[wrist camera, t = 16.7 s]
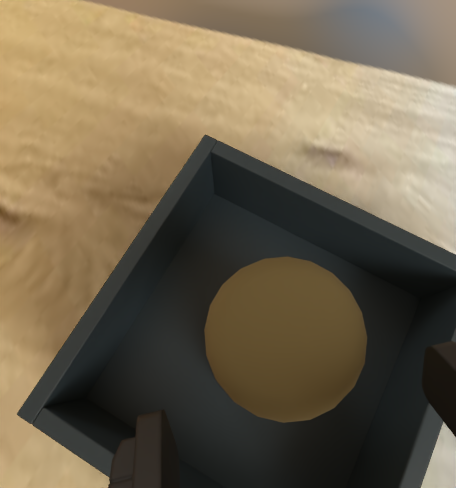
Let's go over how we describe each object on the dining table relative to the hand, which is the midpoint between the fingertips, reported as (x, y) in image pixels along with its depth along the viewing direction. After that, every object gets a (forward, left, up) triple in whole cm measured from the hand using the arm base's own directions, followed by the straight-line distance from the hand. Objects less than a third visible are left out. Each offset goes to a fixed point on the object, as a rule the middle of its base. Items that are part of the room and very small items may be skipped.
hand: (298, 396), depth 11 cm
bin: (+1, -2, -10) cm, 11 cm away
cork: (+1, -2, -10) cm, 10 cm away
